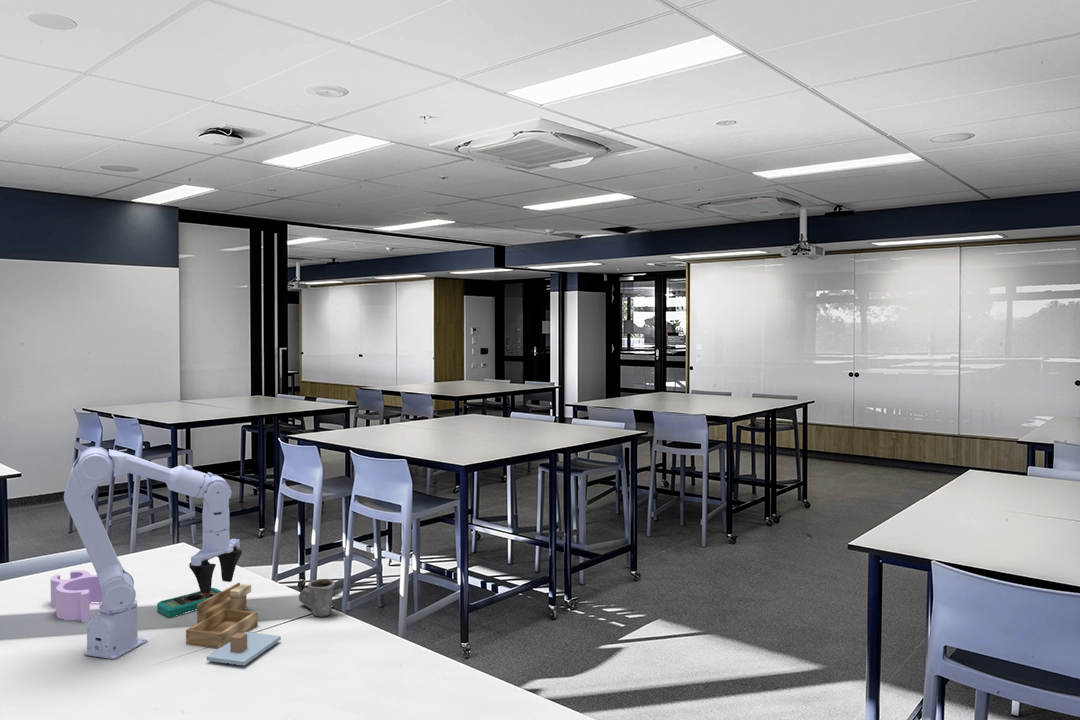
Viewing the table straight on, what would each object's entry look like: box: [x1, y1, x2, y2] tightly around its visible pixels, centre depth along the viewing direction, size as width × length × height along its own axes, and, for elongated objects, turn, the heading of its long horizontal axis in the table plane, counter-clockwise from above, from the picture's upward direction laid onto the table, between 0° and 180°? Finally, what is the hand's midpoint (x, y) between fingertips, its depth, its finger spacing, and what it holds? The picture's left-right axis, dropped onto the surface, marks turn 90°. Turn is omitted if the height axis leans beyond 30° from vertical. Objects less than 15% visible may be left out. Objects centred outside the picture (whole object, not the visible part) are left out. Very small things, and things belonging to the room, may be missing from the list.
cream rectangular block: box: [230, 583, 252, 599], centre depth 181 cm, size 5×2×2 cm, turn 166°
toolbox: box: [185, 582, 259, 650], centre depth 172 cm, size 22×11×6 cm, turn 166°
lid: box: [206, 631, 282, 666], centre depth 159 cm, size 13×9×5 cm
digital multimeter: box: [156, 587, 223, 618], centre depth 185 cm, size 7×15×3 cm, turn 140°
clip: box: [49, 569, 102, 623], centre depth 183 cm, size 20×12×7 cm, turn 55°
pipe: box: [298, 578, 335, 618], centre depth 182 cm, size 6×13×8 cm, turn 47°
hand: (216, 586), depth 171 cm, fingers open, 7 cm apart
